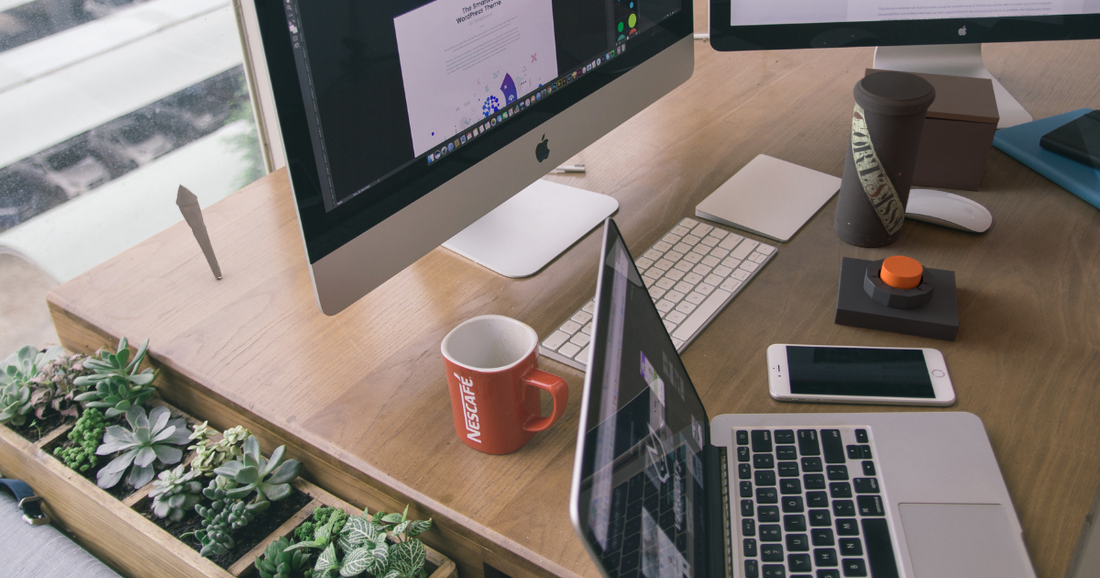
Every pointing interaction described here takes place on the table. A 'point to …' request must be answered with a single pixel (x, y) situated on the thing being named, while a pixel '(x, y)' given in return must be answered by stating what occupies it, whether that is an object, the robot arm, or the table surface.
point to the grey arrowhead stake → (197, 225)
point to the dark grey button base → (897, 301)
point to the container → (881, 157)
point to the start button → (901, 272)
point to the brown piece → (959, 97)
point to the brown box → (953, 153)
